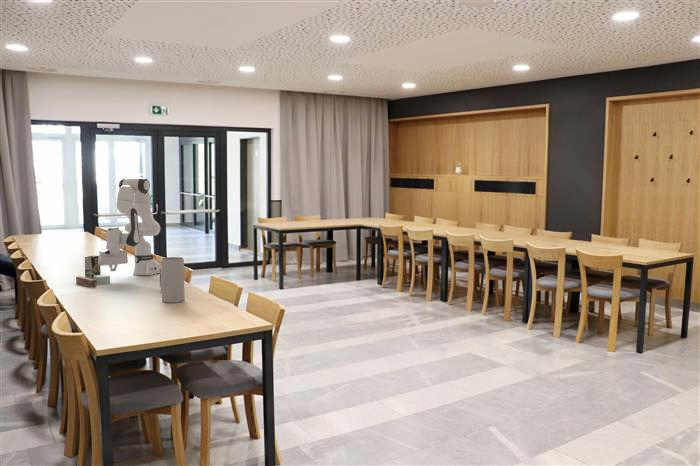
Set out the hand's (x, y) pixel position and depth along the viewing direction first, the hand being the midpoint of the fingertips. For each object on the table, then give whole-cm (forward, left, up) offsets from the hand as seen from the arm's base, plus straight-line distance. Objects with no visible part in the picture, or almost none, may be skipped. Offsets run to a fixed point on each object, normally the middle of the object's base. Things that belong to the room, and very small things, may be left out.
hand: (113, 271), depth 411 cm
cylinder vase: (+10, +83, -7) cm, 84 cm away
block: (+8, 0, -7) cm, 11 cm away
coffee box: (+5, -17, -7) cm, 20 cm away
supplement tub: (-11, +50, -7) cm, 51 cm away
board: (+19, 0, -7) cm, 20 cm away
